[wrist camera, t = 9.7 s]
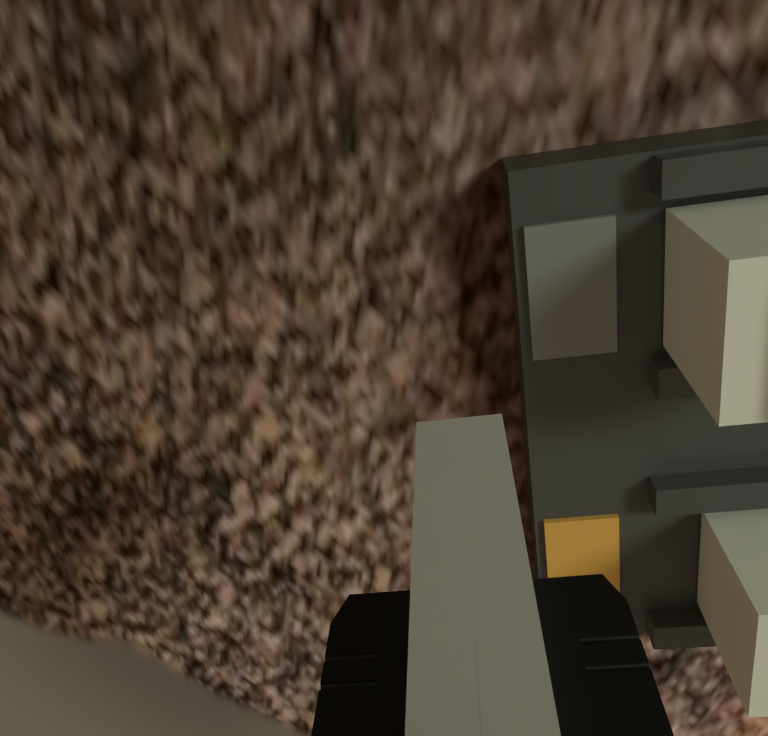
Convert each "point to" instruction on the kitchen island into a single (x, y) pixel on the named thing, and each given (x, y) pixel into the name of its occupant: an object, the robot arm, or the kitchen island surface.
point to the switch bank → (623, 369)
